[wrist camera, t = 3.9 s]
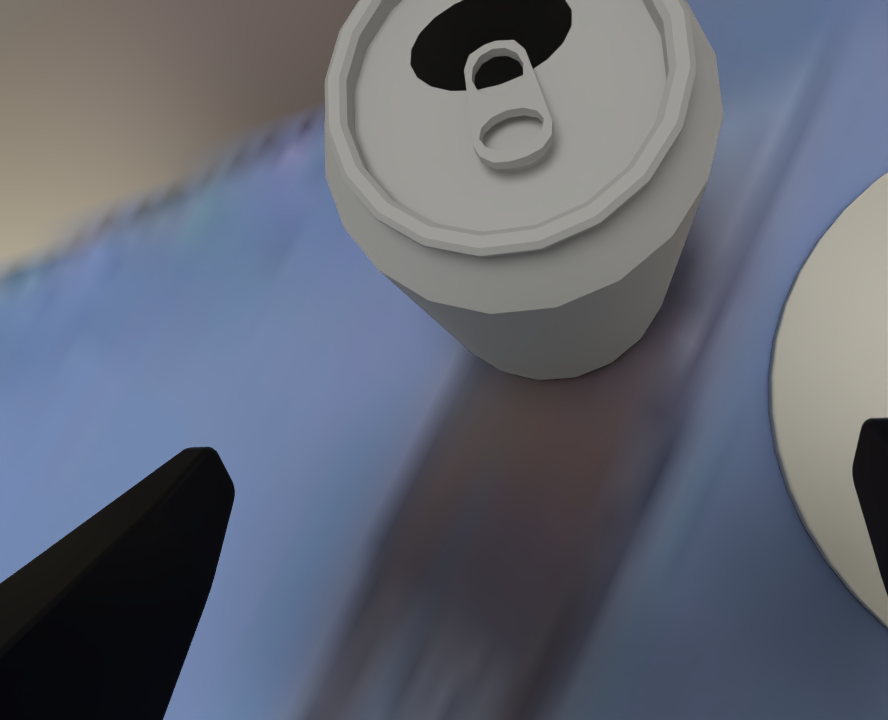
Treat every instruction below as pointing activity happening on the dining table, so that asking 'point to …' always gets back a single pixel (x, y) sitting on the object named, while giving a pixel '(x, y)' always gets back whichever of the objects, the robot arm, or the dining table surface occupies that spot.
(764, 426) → the dining table surface
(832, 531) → the saucer
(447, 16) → the can
